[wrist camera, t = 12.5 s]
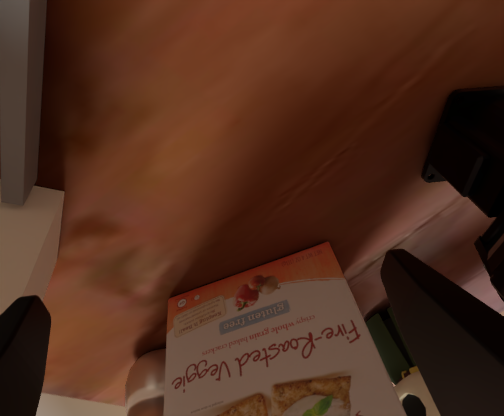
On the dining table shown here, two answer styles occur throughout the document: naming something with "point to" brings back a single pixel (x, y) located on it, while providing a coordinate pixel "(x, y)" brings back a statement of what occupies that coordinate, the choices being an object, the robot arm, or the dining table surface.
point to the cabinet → (24, 157)
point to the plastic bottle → (146, 385)
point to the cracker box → (275, 345)
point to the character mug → (401, 366)
